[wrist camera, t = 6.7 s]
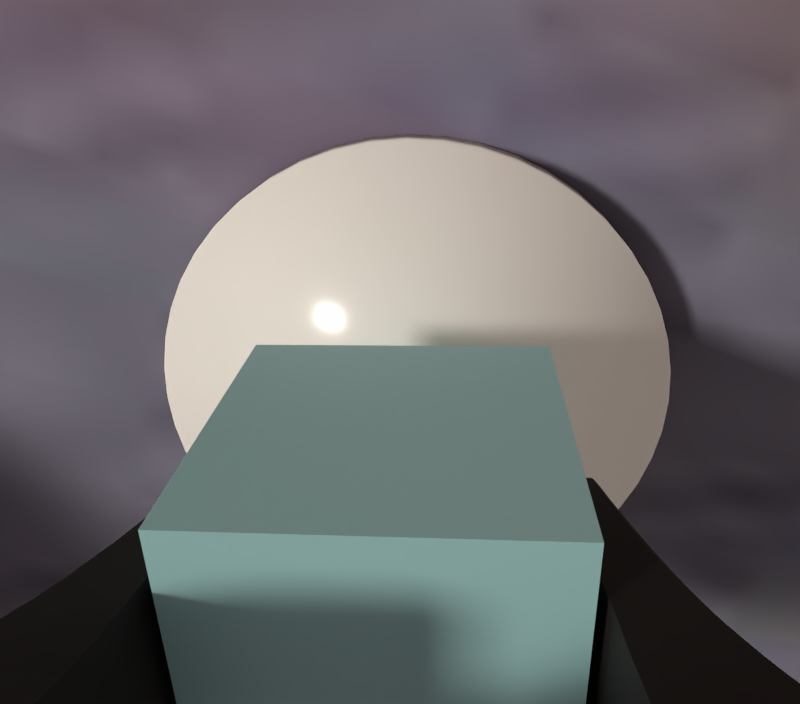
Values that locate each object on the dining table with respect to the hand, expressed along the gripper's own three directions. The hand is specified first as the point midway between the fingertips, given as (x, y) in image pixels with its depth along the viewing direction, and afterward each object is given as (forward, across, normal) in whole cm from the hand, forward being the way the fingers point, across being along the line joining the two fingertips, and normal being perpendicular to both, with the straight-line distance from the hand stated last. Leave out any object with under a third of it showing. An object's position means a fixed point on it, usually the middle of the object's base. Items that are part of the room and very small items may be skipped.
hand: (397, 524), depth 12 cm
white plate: (+5, 0, 0) cm, 5 cm away
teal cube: (+2, 0, 0) cm, 2 cm away
